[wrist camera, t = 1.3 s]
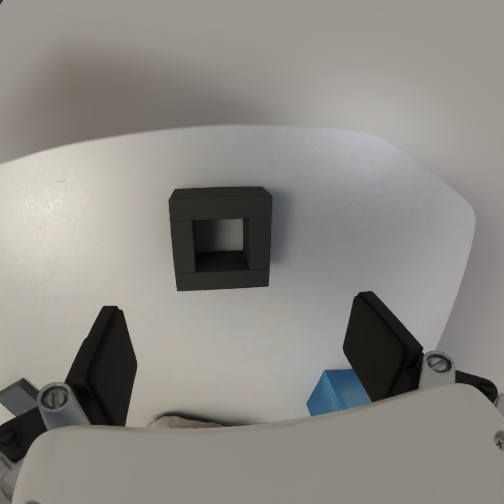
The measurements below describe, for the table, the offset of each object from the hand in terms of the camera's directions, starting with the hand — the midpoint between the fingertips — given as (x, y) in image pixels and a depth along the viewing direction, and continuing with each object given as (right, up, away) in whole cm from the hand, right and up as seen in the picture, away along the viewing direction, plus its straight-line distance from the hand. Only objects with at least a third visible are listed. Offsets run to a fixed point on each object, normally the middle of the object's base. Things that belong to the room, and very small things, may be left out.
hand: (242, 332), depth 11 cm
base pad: (-31, -19, +16) cm, 40 cm away
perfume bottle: (+11, -13, +21) cm, 27 cm away
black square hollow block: (-2, +5, +11) cm, 12 cm away
